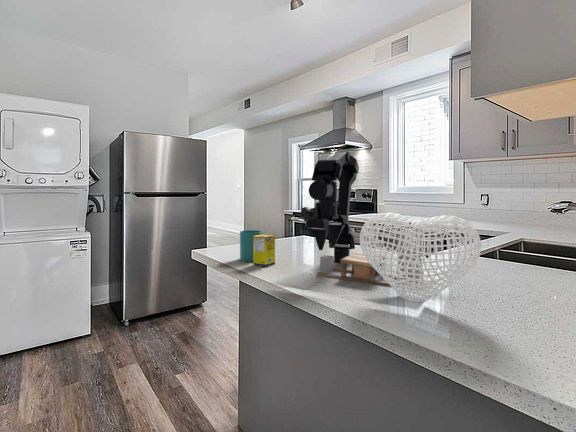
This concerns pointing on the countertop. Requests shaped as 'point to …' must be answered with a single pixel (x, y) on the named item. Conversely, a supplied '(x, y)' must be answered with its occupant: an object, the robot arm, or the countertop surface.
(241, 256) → the cup
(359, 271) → the block
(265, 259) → the supplement box
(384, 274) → the heart
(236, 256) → the countertop surface
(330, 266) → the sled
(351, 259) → the tunnel channel
